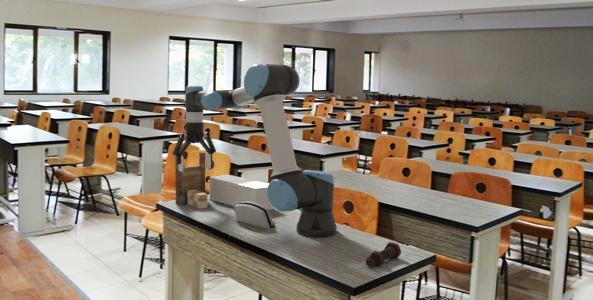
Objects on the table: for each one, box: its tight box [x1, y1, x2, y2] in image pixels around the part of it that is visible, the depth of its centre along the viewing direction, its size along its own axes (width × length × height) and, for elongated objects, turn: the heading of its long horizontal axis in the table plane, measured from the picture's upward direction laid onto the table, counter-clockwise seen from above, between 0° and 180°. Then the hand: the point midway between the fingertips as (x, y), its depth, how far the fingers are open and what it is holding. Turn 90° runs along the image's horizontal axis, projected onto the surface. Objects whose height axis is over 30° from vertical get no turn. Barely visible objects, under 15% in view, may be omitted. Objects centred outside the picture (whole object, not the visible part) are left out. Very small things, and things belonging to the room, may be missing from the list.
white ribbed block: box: [208, 174, 275, 211], centre depth 244 cm, size 32×11×11 cm, turn 46°
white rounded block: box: [233, 201, 276, 229], centre depth 213 cm, size 17×5×10 cm, turn 54°
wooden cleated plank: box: [174, 151, 206, 206], centre depth 244 cm, size 4×14×22 cm, turn 130°
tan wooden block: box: [185, 189, 208, 209], centre depth 240 cm, size 12×4×6 cm, turn 40°
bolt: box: [365, 241, 402, 268], centre depth 173 cm, size 6×5×15 cm
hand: (194, 169), depth 239 cm, fingers open, 13 cm apart
